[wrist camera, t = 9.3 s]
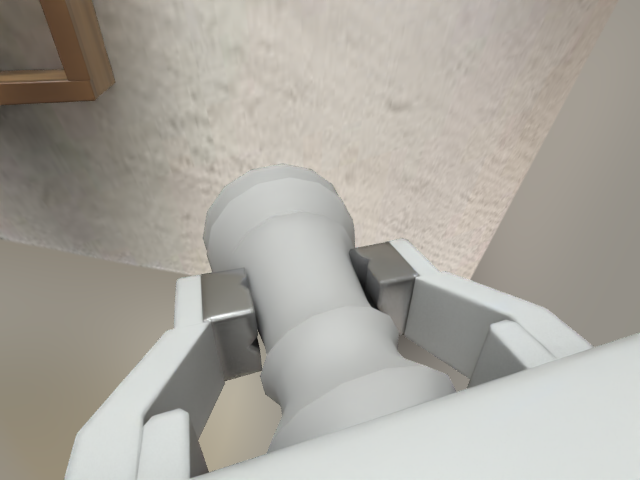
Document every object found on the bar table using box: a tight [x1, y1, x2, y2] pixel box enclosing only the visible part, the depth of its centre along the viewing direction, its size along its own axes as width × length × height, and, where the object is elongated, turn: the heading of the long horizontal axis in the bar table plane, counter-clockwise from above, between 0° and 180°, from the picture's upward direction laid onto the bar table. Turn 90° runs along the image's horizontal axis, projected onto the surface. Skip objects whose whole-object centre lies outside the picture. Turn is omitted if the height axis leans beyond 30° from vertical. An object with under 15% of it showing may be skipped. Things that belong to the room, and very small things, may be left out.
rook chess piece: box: [203, 164, 456, 453], centre depth 8 cm, size 4×4×8 cm
